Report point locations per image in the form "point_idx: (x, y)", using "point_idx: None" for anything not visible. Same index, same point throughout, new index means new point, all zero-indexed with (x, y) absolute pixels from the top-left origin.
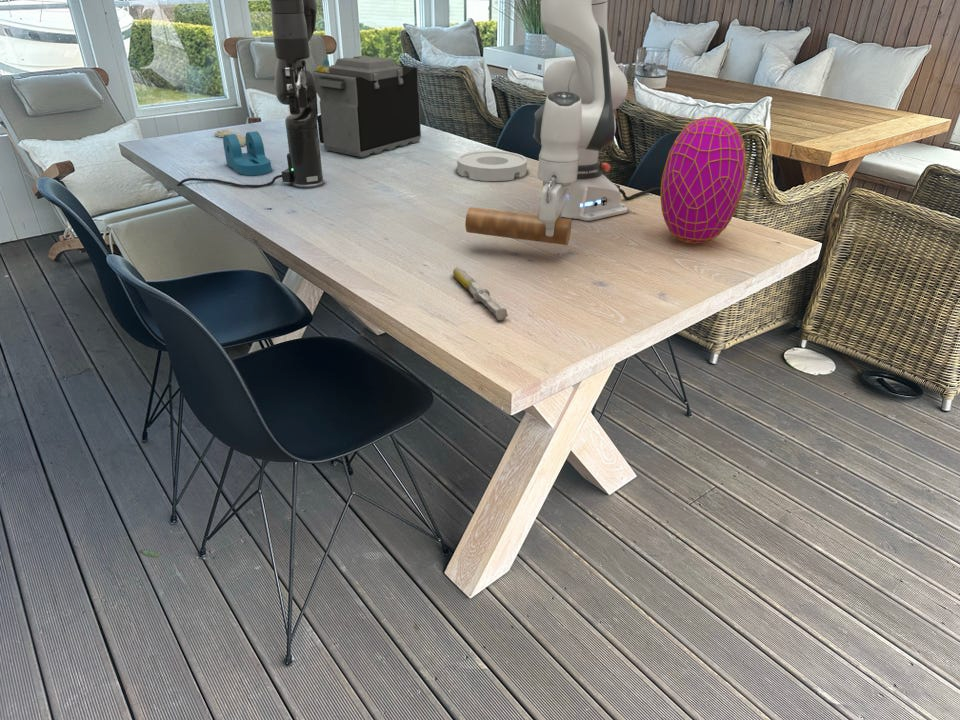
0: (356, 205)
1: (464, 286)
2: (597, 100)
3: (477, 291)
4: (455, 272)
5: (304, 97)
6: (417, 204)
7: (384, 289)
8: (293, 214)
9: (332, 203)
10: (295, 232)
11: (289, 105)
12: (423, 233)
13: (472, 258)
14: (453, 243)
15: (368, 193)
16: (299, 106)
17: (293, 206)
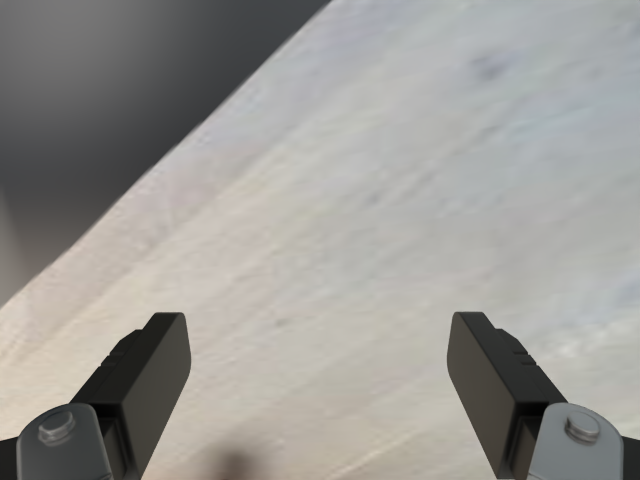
0: (520, 235)
1: None
2: None
3: None
4: None
5: (475, 416)
6: None
7: (38, 341)
8: (466, 77)
9: (549, 171)
10: (318, 117)
11: (128, 351)
12: (316, 382)
13: (198, 453)
14: (265, 428)
15: (618, 252)
16: (169, 409)
17: (542, 60)
